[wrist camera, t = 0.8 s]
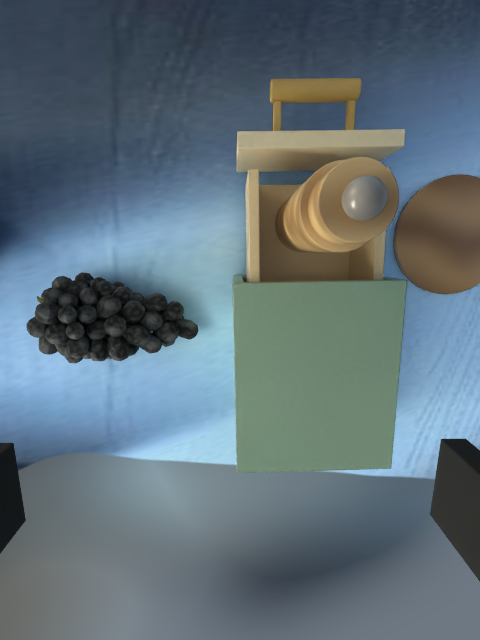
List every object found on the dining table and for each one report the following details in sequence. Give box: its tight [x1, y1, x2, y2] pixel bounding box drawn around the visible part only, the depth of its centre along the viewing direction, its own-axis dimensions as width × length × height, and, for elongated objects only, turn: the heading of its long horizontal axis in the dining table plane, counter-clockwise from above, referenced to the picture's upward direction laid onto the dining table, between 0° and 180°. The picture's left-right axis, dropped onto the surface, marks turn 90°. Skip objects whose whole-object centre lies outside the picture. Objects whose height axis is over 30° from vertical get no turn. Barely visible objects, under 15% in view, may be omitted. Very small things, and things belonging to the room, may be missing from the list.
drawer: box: [237, 78, 405, 282], centre depth 29 cm, size 20×13×7 cm, turn 1°
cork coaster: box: [394, 175, 480, 294], centre depth 34 cm, size 12×12×1 cm
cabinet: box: [233, 275, 407, 473], centre depth 32 cm, size 17×14×9 cm
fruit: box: [27, 273, 198, 363], centre depth 32 cm, size 9×8×15 cm
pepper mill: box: [275, 157, 399, 252], centre depth 24 cm, size 5×5×16 cm
